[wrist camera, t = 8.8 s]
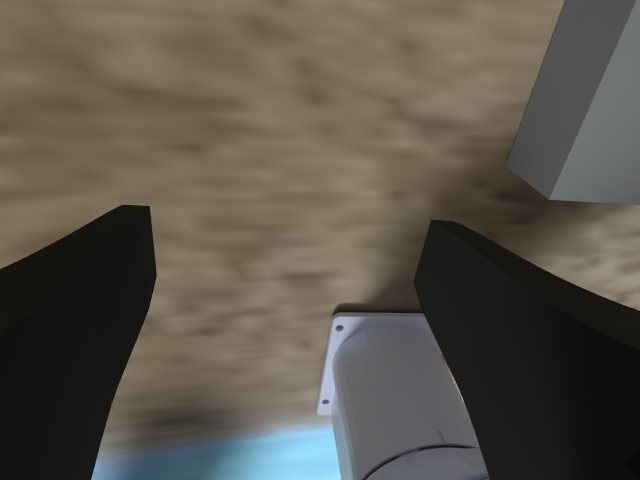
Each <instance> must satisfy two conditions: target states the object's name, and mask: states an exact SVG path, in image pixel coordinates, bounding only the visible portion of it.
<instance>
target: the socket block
mask: <svg viewBox="0 0 640 480" xmlns="http://www.w3.org/2000/svg"><path fill="white" fill-rule="evenodd" d="M505 167H506V168H508V169H509V170H510V171H512V172H513V173H514V174H516V175H517V176H518V177H520V178H521V179H522V180H524V181H525V182H526V183H528V184H529V185H530V186H532V187H533V188H534V189H536V190H537V191H538V192H540V193H541V194H542V195H544V196H545V197H546V198H548V199H549V200H565V201H581V202H598V203H614V204H630V205H640V0H565V3H564V6H563V9H562V11H561V14H560V17H559V20H558V22H557V25H556V28H555V31H554V33H553V36H552V39H551V42H550V44H549V47H548V50H547V53H546V55H545V58H544V61H543V64H542V66H541V69H540V72H539V75H538V77H537V80H536V83H535V86H534V88H533V91H532V94H531V97H530V99H529V102H528V105H527V108H526V111H525V113H524V116H523V119H522V122H521V124H520V127H519V130H518V133H517V135H516V138H515V141H514V144H513V146H512V149H511V152H510V155H509V157H508V160H507V163H506V166H505Z"/></svg>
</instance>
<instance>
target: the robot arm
mask: <svg viewBox="0 0 640 480" xmlns="http://www.w3.org/2000/svg"><path fill="white" fill-rule="evenodd" d="M156 276H157V273H156V263H155V253H154V244H153V234H152V224H151V214H150V206H137V205H121V206H119V207H117V208H115V209H113V210H111V211H109V212H107V213H106V214H104V215H102V216H100V217H99V218H97V219H95V220H94V221H92V222H90V223H88V224H87V225H85V226H83V227H81V228H80V229H78V230H76V231H74V232H73V233H71V234H69V235H67V236H66V237H64V238H62V239H60V240H58V241H56V242H54V243H52V244H51V245H49V246H47V247H45V248H43V249H41V250H39V251H37V252H35V253H33V254H31V255H29V256H27V257H25V258H23V259H21V260H19V261H17V262H15V263H13V264H11V265H8V266H6V267H4V268H2V269H0V480H91V478H92V474H93V470H94V467H95V463H96V459H97V455H98V451H99V447H100V444H101V440H102V436H103V433H104V429H105V426H106V422H107V419H108V415H109V411H110V408H111V404H112V402H113V399H114V396H115V393H116V390H117V387H118V385H119V382H120V380H121V377H122V375H123V372H124V370H125V367H126V365H127V362H128V360H129V357H130V355H131V352H132V350H133V348H134V345H135V343H136V340H137V338H138V335H139V333H140V330H141V328H142V325H143V323H144V320H145V317H146V315H147V312H148V310H149V306H150V302H151V298H152V294H153V290H154V285H155V281H156ZM414 285H415V288H416V292H417V296H418V299H419V302H420V305H421V308H422V311H423V313H352V312H340V313H336V314H335V315H334V316H333V317H332V321H331V327H330V333H329V338H328V344H327V350H326V356H325V362H324V367H323V373H322V379H321V385H320V391H319V396H318V402H317V413H318V414H320V415H331V418H332V424H333V430H334V437H335V443H336V449H337V455H338V462H339V468H340V474H341V480H640V311H638V310H636V309H633V308H630V307H627V306H624V305H622V304H619V303H617V302H614V301H612V300H609V299H607V298H604V297H602V296H599V295H597V294H595V293H592V292H590V291H588V290H586V289H583V288H581V287H579V286H576V285H574V284H572V283H570V282H568V281H566V280H563V279H561V278H559V277H557V276H555V275H553V274H551V273H549V272H548V271H546V270H544V269H542V268H540V267H538V266H536V265H534V264H532V263H530V262H528V261H527V260H525V259H523V258H521V257H519V256H517V255H516V254H514V253H512V252H510V251H509V250H507V249H505V248H503V247H501V246H500V245H498V244H496V243H494V242H493V241H491V240H489V239H487V238H486V237H484V236H482V235H480V234H479V233H477V232H475V231H473V230H471V229H469V228H467V227H465V226H463V225H461V224H459V223H456V222H454V221H441V220H431V222H430V226H429V229H428V233H427V236H426V240H425V243H424V247H423V250H422V254H421V257H420V261H419V264H418V268H417V271H416V275H415V278H414ZM338 325H342V326H341V327H337V326H338ZM442 354H443V356H444V358H445V360H446V362H447V364H448V366H449V368H450V371H451V373H452V375H453V377H454V379H455V381H456V383H457V386H458V388H459V390H460V393H461V395H462V397H463V400H464V402H463V400H462V398H461V396H460V394H459V392H458V390H457V388H456V386H455V384H454V382H453V379H452V377H451V375H450V373H449V371H448V369H447V367H446V365H445V363H444V361H443V359H442V357H441V356H442ZM464 403H465V404H464Z"/></svg>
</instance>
